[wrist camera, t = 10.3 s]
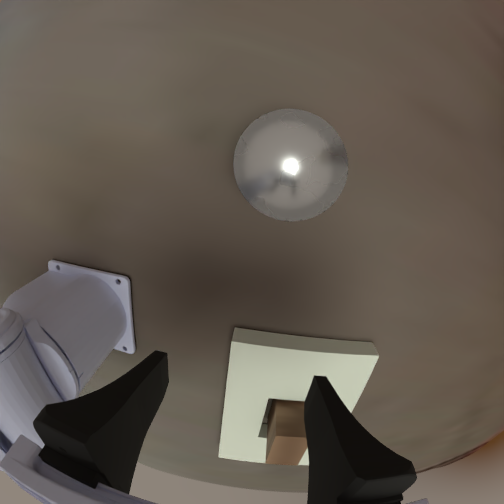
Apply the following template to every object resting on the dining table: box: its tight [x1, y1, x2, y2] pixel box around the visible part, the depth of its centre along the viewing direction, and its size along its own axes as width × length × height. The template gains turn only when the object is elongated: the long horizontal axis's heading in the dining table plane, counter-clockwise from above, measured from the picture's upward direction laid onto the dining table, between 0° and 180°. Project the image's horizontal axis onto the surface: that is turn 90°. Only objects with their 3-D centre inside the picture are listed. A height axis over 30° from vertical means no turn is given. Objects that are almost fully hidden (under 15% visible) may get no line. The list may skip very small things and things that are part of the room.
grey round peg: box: [233, 109, 348, 221], centre depth 16 cm, size 6×6×6 cm
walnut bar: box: [265, 399, 308, 465], centre depth 22 cm, size 3×5×6 cm, turn 173°
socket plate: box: [219, 327, 379, 465], centre depth 24 cm, size 12×18×2 cm, turn 173°
